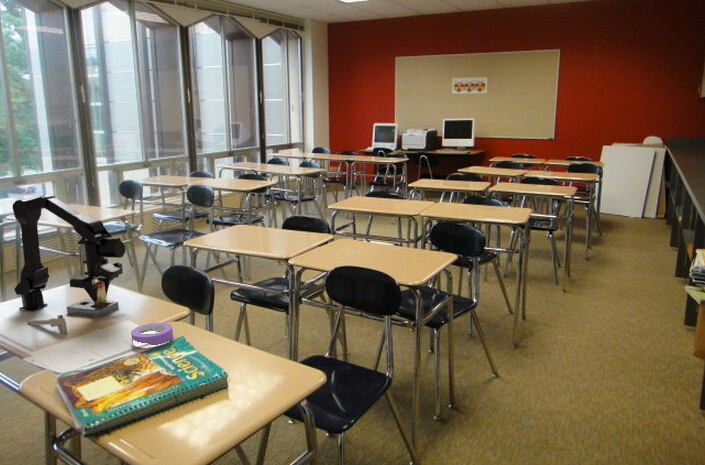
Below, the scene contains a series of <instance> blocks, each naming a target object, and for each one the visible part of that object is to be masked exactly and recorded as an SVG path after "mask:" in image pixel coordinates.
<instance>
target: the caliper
mask: <svg viewBox="0 0 705 465" xmlns="http://www.w3.org/2000/svg"><path fill="white" fill-rule="evenodd" d="M27 324H30V325H33V326H35V325H36V326H37V325H41V326H44V325H46V326H47V325H49V326H50V327H51V328H55V327H57V329H58V331H59V333H60V334H63V335H65V334H67V333H68V329H67V328H68V327H67V322H66V319H65V318H64V315H63V314H58V315H56V317H54V318H52V317H51V318H49V319H29V321H28V322H27Z"/></svg>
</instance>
